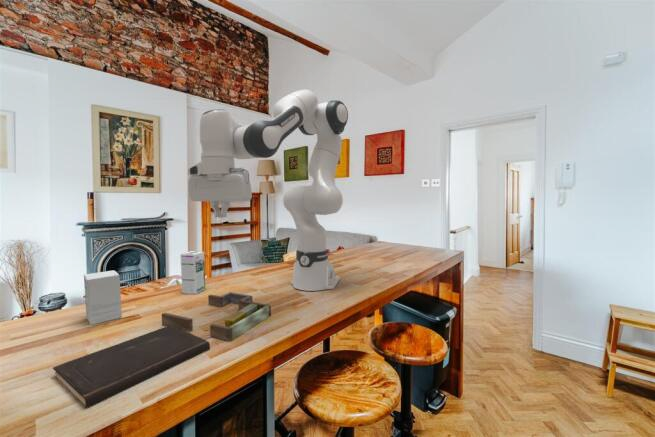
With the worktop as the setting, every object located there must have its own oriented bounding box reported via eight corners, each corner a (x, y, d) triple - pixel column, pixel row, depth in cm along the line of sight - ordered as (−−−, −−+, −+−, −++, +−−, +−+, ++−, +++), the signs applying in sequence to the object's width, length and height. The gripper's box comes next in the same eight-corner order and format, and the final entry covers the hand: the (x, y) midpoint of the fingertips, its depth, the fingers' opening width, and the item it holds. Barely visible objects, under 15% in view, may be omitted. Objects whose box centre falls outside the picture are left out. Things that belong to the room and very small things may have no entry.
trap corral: (220, 299, 100) (220, 290, 100) (279, 309, 91) (279, 300, 91) (162, 324, 80) (161, 313, 80) (229, 341, 71) (229, 329, 71)
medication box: (250, 316, 87) (250, 303, 87) (259, 317, 86) (258, 303, 86) (224, 334, 75) (224, 319, 75) (233, 335, 75) (233, 320, 74)
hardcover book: (53, 378, 57) (52, 367, 57) (171, 333, 76) (171, 324, 76) (86, 411, 48) (85, 398, 48) (210, 351, 68) (209, 341, 67)
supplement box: (117, 310, 90) (115, 269, 89) (122, 318, 84) (120, 274, 83) (85, 317, 84) (83, 273, 83) (88, 325, 79) (86, 279, 78)
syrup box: (196, 294, 105) (195, 253, 104) (181, 293, 106) (180, 253, 105) (205, 289, 111) (204, 251, 110) (191, 288, 112) (190, 250, 111)
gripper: (255, 167, 83) (257, 217, 84) (200, 170, 91) (202, 215, 92) (240, 166, 77) (243, 219, 79) (183, 169, 85) (186, 217, 87)
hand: (220, 217), depth 86 cm, fingers closed
